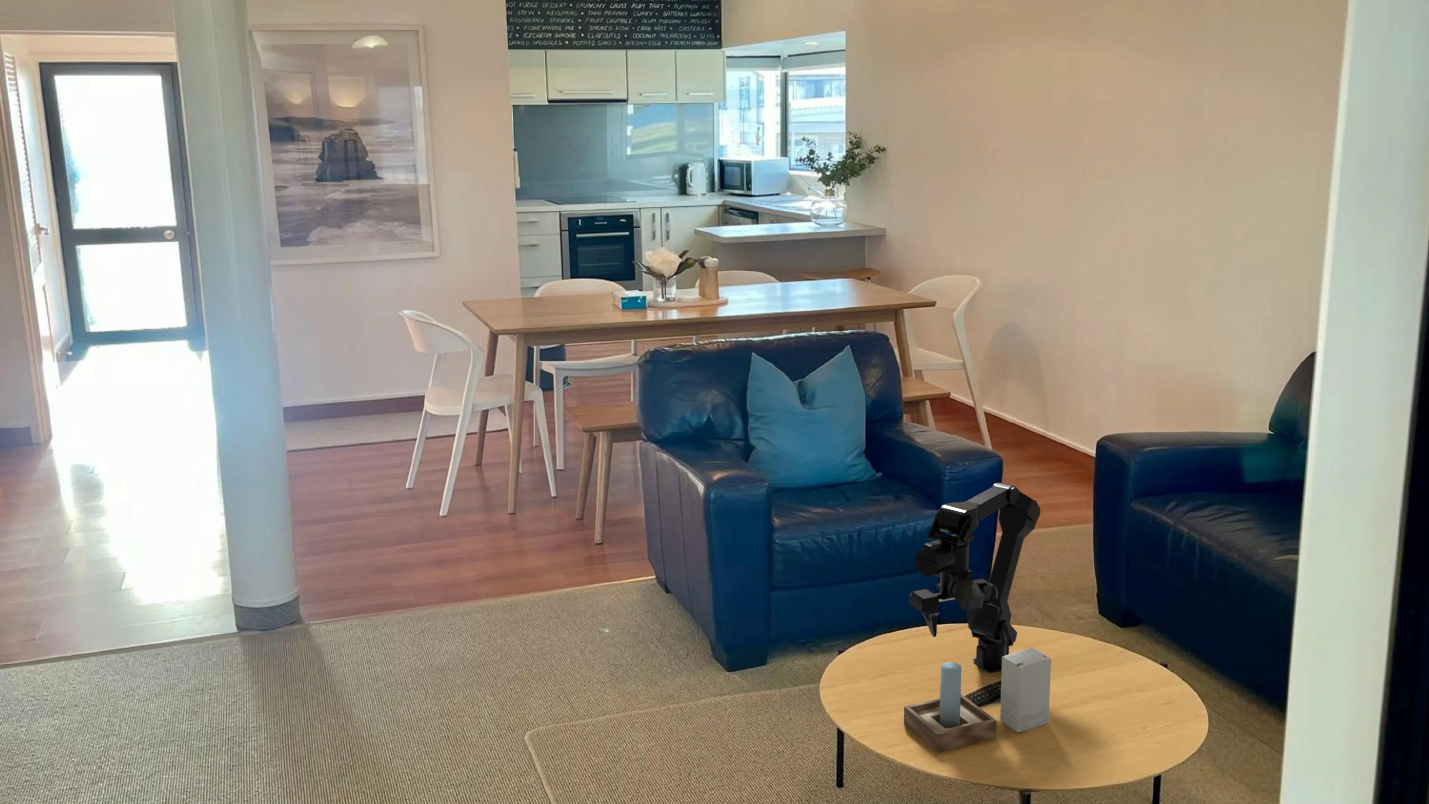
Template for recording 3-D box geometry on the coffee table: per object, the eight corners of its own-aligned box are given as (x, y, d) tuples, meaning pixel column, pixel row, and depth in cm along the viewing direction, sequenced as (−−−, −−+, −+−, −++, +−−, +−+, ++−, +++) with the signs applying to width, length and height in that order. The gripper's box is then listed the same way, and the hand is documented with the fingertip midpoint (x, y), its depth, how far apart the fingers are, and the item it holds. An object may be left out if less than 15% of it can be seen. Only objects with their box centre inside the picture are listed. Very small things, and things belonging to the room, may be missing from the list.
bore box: (960, 710, 245) (960, 693, 244) (996, 738, 234) (996, 720, 233) (903, 723, 240) (904, 706, 239) (937, 752, 229) (938, 734, 228)
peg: (946, 723, 240) (948, 660, 237) (963, 730, 237) (965, 666, 234) (935, 731, 237) (936, 666, 234) (952, 737, 234) (954, 672, 231)
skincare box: (1030, 712, 244) (1033, 645, 241) (1050, 724, 239) (1053, 656, 235) (997, 721, 240) (1000, 654, 237) (1017, 734, 235) (1020, 665, 232)
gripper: (937, 583, 238) (935, 655, 241) (1014, 569, 245) (1011, 639, 248) (908, 565, 248) (907, 634, 251) (983, 552, 255) (980, 620, 258)
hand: (952, 632), depth 252 cm, fingers open, 9 cm apart
